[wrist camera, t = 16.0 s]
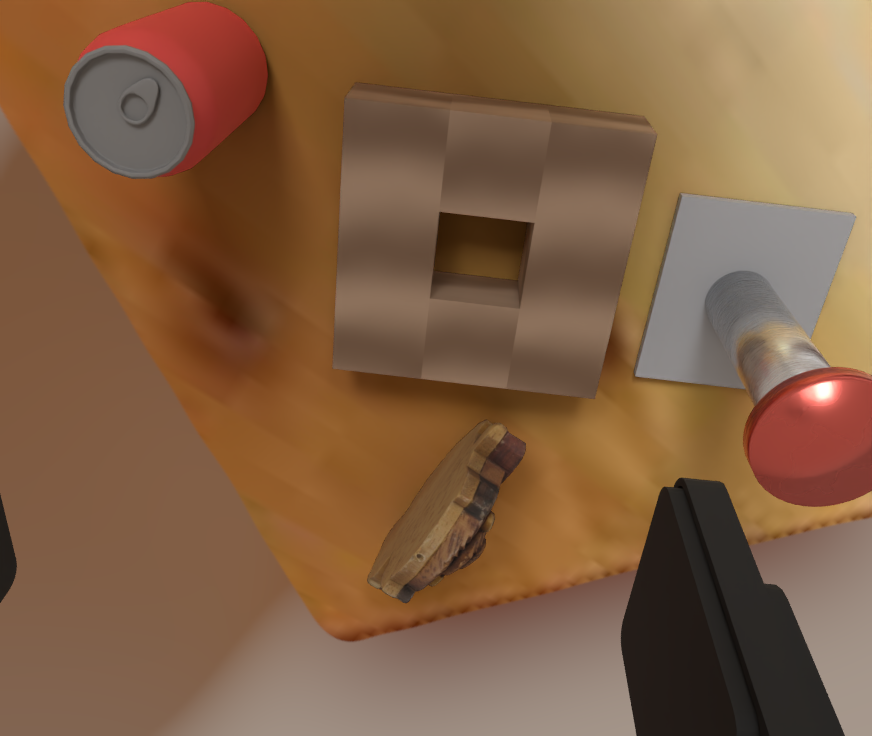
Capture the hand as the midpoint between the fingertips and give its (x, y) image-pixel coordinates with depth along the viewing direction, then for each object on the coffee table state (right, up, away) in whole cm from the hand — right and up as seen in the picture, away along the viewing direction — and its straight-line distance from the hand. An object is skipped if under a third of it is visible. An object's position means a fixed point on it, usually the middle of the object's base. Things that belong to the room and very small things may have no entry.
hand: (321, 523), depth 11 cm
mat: (+20, +7, +39) cm, 44 cm away
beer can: (-11, +19, +34) cm, 40 cm away
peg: (+20, +6, +38) cm, 43 cm away
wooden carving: (+3, -5, +47) cm, 47 cm away
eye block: (+4, +10, +38) cm, 39 cm away
